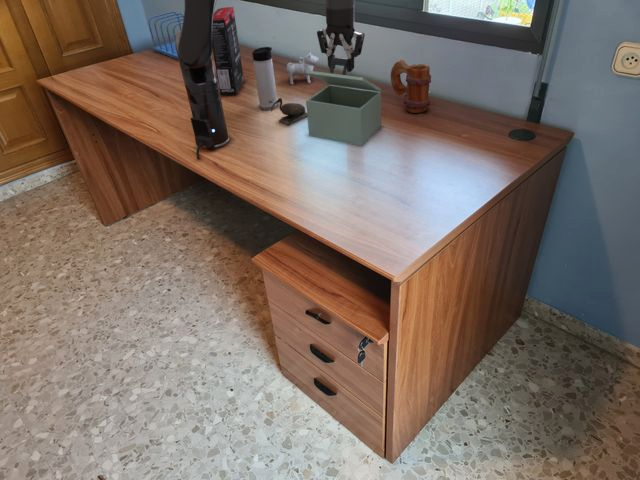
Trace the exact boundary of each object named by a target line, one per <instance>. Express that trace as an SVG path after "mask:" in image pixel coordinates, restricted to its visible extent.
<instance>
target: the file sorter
mask: <svg viewBox="0 0 640 480" xmlns="http://www.w3.org/2000/svg"><path fill="white" fill-rule="evenodd" d="M154 18H156V19H155V20H154V22H153V26H154V31H155V34H156V38H157V42H158V45H156V42H155V38H154V34H153V32H152V27H151V20H152V19H154ZM166 18H167V19H166ZM162 19H163V20H162ZM183 19H184V14H182V13H180V12H176V11H169V12H165V13H161V14H157V15H153V16H151V17H149V18H148V21H147V24H148V28H149V31H150V35H151V39H152V42H153V48H152V49H153V51H154V52H157V53H159V54H162V55H164V56H167V57H169V58H173V59H175V60H178V61H179V59H178V55H177V51H176V47H175V40H176V36H177V35H176V32H175V28H176V27H177V26H179V32H180V31H181V30H182V25H183ZM159 20H161V21H160V23H159V28H160V32H161V36H162V39H163V44H161V41H160V37H159V33H158V29H157V21H159ZM167 21H169V22H168V23H167V24H166V33H167V37H168V40H169V42H166V39H165V36H164V31H163V28H162V26H163V23H165V22H167ZM180 21H181V22H180ZM177 22H178V23H177ZM173 23H175V24H174V25H173V27H172V34H173V37H174V41H172V40H171V36H170V32H169V31H170V30H169V25H170V24H173Z"/></svg>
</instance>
